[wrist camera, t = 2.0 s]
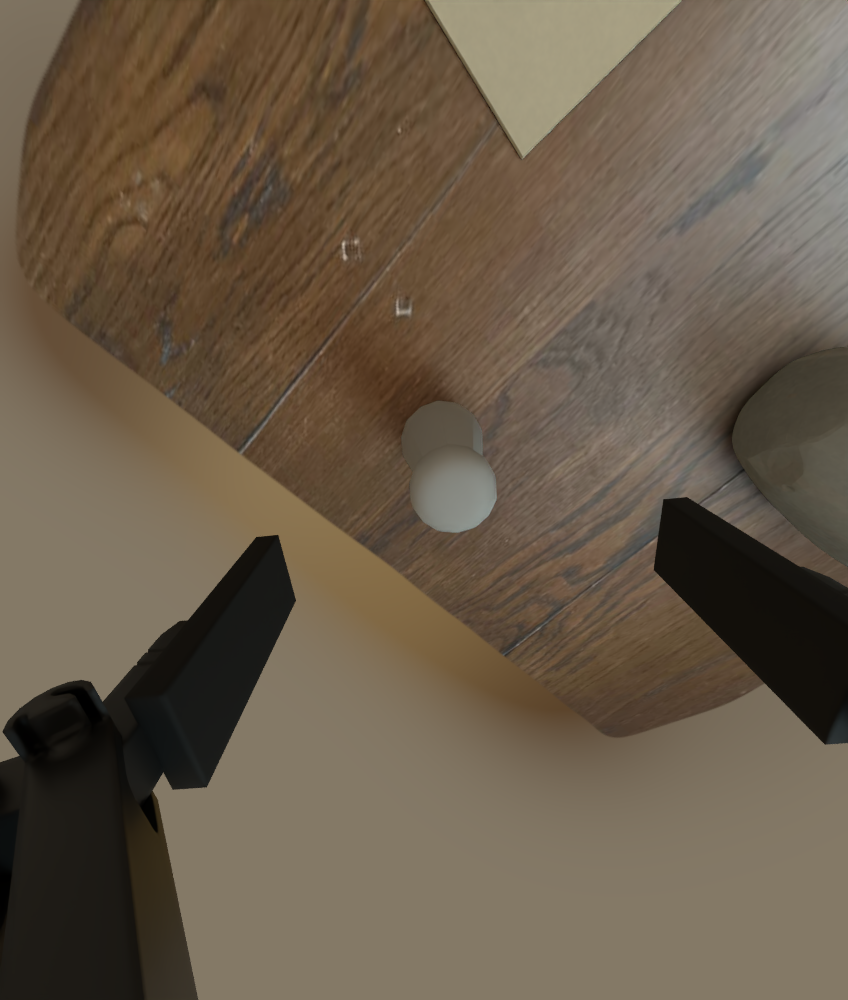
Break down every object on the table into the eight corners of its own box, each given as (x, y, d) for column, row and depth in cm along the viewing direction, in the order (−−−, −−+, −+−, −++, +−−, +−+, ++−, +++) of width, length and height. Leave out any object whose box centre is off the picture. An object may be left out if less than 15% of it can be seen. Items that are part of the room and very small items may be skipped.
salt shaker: (438, 484, 32) (450, 574, 20) (386, 434, 30) (366, 500, 18) (493, 434, 31) (542, 499, 19) (442, 378, 29) (459, 410, 17)
